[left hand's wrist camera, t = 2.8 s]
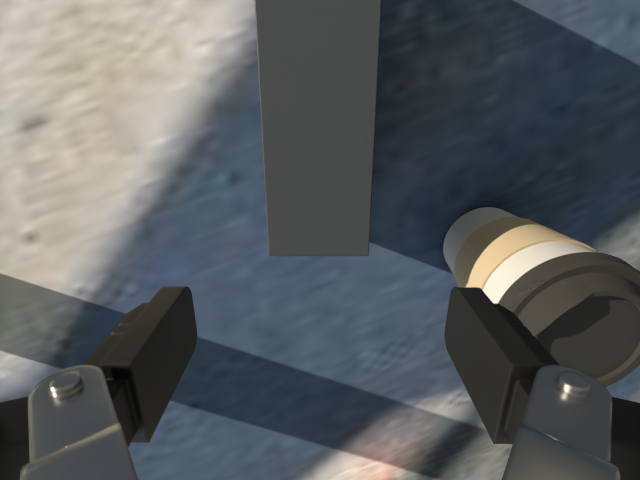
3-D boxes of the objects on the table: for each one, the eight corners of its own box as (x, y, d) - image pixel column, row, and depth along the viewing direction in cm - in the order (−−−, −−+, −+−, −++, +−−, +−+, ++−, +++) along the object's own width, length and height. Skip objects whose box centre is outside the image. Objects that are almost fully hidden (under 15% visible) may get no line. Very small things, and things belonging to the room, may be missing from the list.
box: (354, 209, 32) (368, 256, 23) (283, 209, 32) (268, 256, 23) (364, -77, 25) (390, -180, 16) (272, -77, 25) (244, -180, 16)
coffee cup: (552, 240, 33) (720, 345, 19) (473, 304, 36) (572, 439, 22) (490, 172, 31) (629, 236, 17) (410, 246, 34) (474, 354, 20)
